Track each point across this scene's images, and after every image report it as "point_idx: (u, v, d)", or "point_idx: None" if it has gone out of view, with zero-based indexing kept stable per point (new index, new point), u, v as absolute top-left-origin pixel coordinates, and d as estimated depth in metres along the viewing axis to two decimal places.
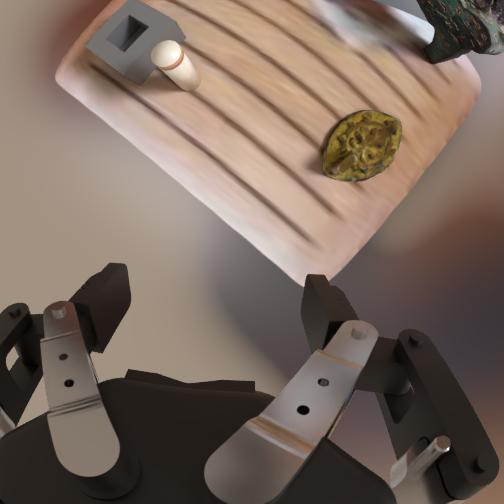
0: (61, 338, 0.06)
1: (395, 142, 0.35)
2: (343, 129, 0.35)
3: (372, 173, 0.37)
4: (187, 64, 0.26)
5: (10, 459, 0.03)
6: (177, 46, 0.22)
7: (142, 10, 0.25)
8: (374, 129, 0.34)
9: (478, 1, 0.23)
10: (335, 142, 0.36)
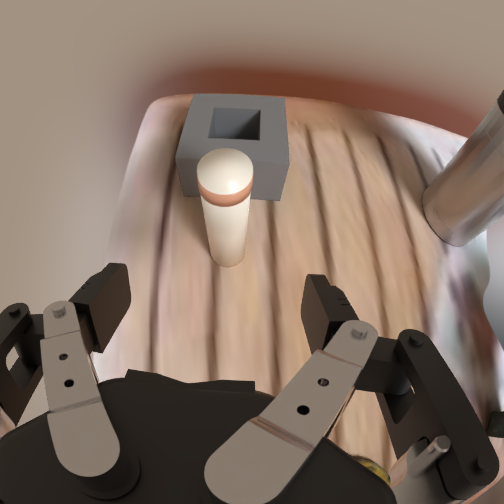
0: (61, 338, 0.06)
1: None
2: None
3: None
4: (236, 221, 0.18)
5: (10, 459, 0.03)
6: (247, 176, 0.15)
7: (275, 119, 0.26)
8: None
9: None
10: None
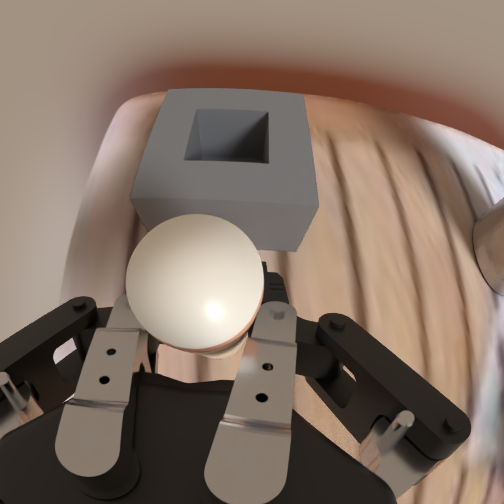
0: (118, 332, 0.06)
1: None
2: None
3: None
4: (228, 349, 0.09)
5: (11, 454, 0.03)
6: (249, 303, 0.06)
7: (292, 127, 0.17)
8: None
9: None
10: None
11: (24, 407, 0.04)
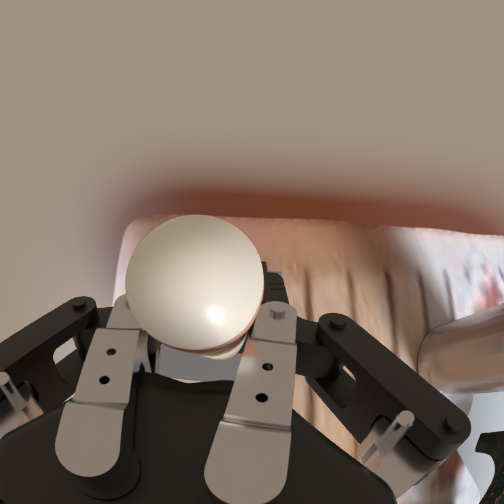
0: (118, 332, 0.06)
1: None
2: None
3: None
4: (228, 350, 0.09)
5: (11, 454, 0.03)
6: (249, 304, 0.06)
7: None
8: None
9: None
10: None
11: (24, 407, 0.04)
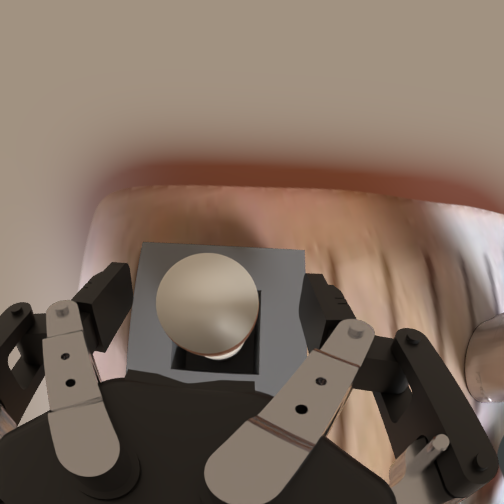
0: (63, 337, 0.06)
1: None
2: None
3: None
4: (230, 353, 0.11)
5: (10, 459, 0.03)
6: (248, 320, 0.08)
7: (287, 315, 0.16)
8: None
9: None
10: None
11: None
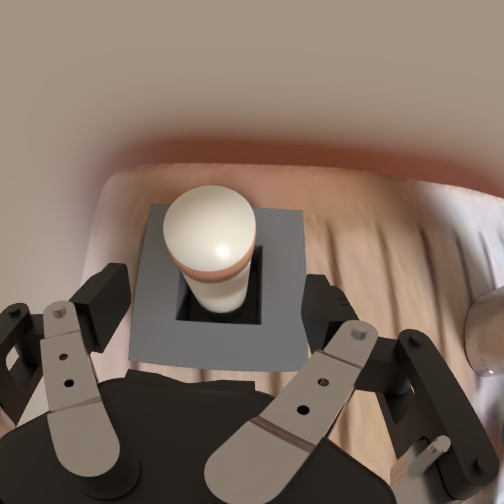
0: (61, 338, 0.06)
1: None
2: None
3: None
4: (231, 292, 0.13)
5: (10, 459, 0.03)
6: (246, 239, 0.09)
7: (288, 268, 0.17)
8: None
9: None
10: None
11: None
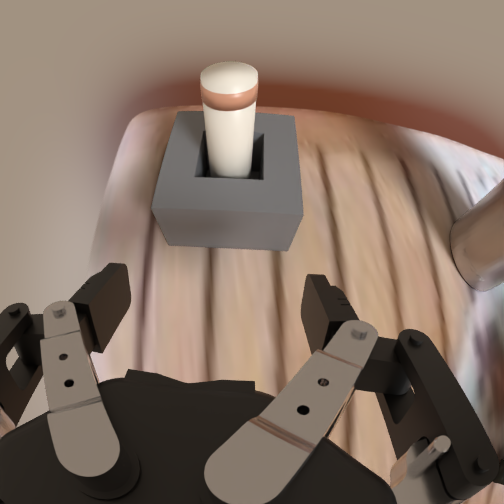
0: (61, 338, 0.06)
1: None
2: None
3: None
4: (240, 135, 0.16)
5: (10, 459, 0.03)
6: (252, 79, 0.13)
7: (283, 147, 0.20)
8: None
9: None
10: None
11: None
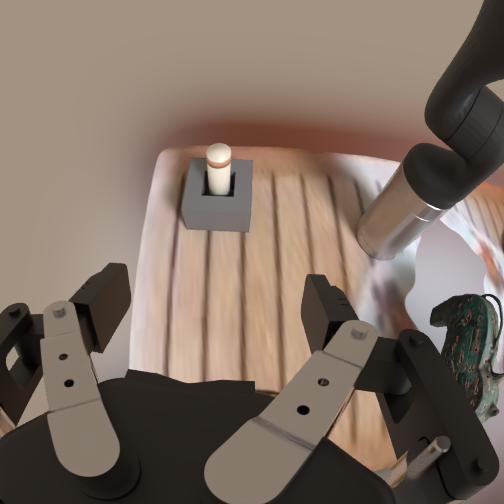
0: (61, 338, 0.06)
1: None
2: None
3: None
4: (223, 177, 0.38)
5: (10, 459, 0.03)
6: (228, 155, 0.35)
7: (245, 179, 0.42)
8: None
9: None
10: None
11: None
